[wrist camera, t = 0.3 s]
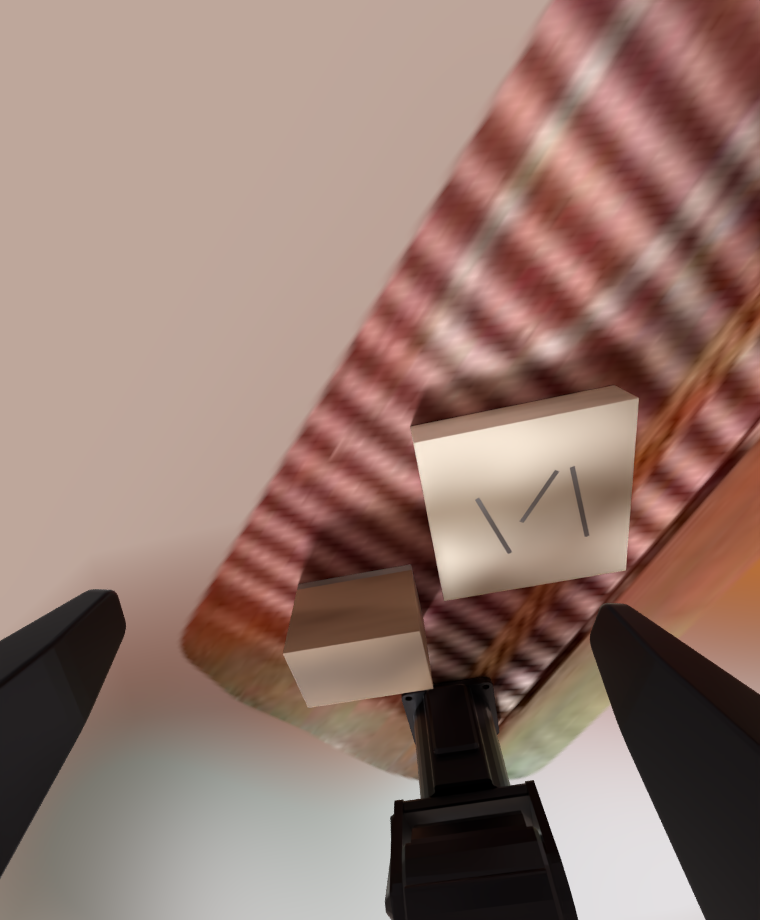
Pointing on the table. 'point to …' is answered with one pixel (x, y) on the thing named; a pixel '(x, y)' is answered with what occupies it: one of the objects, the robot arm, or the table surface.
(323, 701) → the block
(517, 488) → the birch board
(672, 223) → the table surface
